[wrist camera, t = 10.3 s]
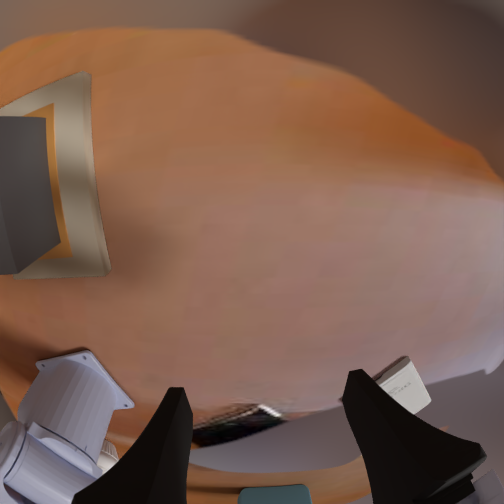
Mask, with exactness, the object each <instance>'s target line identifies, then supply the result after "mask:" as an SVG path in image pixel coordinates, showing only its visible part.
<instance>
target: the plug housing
mask: <svg viewBox="0 0 504 504" xmlns="http://www.w3.org/2000/svg"><path fill="white" fill-rule="evenodd" d="M60 243H61V240H60V236H59V231H58V226H57V221H56V216H55V210H54V204H53V198H52V191H51V184H50V176H49V166H48V155H47V138H46V118H43V117H22V116H0V275H5V274H19V273H20V272H21V271H22V270H24V269H25V268H26V267H28V266H29V265H30V264H32V263H33V262H34V261H36V260H37V259H38V258H40V257H41V256H43V255H44V254H45V253H47V252H48V251H50V250H51V249H52V248H54V247H55V246H57V245H58V244H60Z"/></svg>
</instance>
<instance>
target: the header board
mask: <svg viewBox="0 0 504 504" xmlns="http://www.w3.org/2000/svg"><path fill="white" fill-rule="evenodd" d="M0 116H22V117H43V118H46V138H47V155H48V166H49V176H50V184H51V191H52V198H53V204H54V210H55V216H56V221H57V226H58V231H59V236H60V240H61V243H60V244H58V245H57V246H55V247H54V248H52V249H51V250H50V251H48V252H47V253H45V254H44V255H43V256H41V257H40V258H38V259H37V260H36V261H34V262H33V263H32V264H30V265H29V266H28V267H26V268H25V269H24V270H22V271H21V272H20V273H19V274H13V277H14V279H45V278H73V277H98V276H106V275H107V274H108V273H109V272H110V270H111V269H112V268H111V264H110V260H109V255H108V251H107V246H106V241H105V236H104V231H103V225H102V220H101V214H100V207H99V201H98V194H97V186H96V178H95V169H94V158H93V146H92V128H91V74H89V73H87V72H85V71H82V72H79V73H76V74H73V75H71V76H68V77H65V78H63V79H60V80H58V81H56V82H53V83H51V84H48V85H46V86H44V87H42V88H39V89H37V90H35V91H33V92H31V93H29V94H27V95H25V96H23V97H21V98H19V99H17V100H15V101H13V102H11V103H10V104H8V105H6V106H4V107H3V108H1V109H0Z"/></svg>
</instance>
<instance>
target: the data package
mask: <svg viewBox="0 0 504 504" xmlns="http://www.w3.org/2000/svg"><path fill="white" fill-rule="evenodd" d="M238 504H312V501H311V496H310V492H309V489H308V487H306V486H305V485H301V484H299V485H289V486H275V487H249V488H245V489H243V490H242V491H241V492H240V495H239V497H238Z"/></svg>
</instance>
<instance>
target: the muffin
mask: <svg viewBox="0 0 504 504" xmlns="http://www.w3.org/2000/svg"><path fill="white" fill-rule="evenodd" d="M118 461H119V458H118V455H117V452H116V449H115V446H114V445H113V444H112V443H111V442H109V441H107V440H105V439H104V441H103V445H102V448H101V451H100V455H99V458H98V462H97V466H98V467H99V468H101V469H102V470H103V472H102V475H103V474H104V473H106V472H107V471H108V470H109V469H110V468H111V467H113V466H114V465H115V464H116V463H117V462H118Z"/></svg>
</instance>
